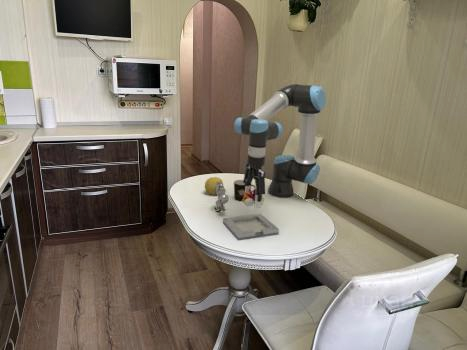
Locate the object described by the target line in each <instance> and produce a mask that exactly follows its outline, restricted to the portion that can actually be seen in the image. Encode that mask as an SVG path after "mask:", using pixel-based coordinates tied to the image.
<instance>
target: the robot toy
mask: <svg viewBox="0 0 467 350" xmlns="http://www.w3.org/2000/svg"><path fill="white" fill-rule="evenodd" d="M215 189H216V195H215V196H217V200H216V201H215V206H216V207H215V208H216V209H217V211H219V210H220V211H221V210H222V212H221V213H226V212H227V208H226V207H225V204H227V203H228V202H229V195H227V194H226V188H225V186H224V184H223V185H222V184H220V183H219V182H216V184H215ZM225 211H226V212H225Z"/></svg>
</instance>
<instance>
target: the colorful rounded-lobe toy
mask: <svg viewBox="0 0 467 350" xmlns="http://www.w3.org/2000/svg"><path fill="white" fill-rule="evenodd" d="M253 190H254V191H253ZM253 190H252V189H251V190H250V189H249V193H250V194H248V193H244V194H243V195H244V198H243V199H242V201H241V202H242V203H244V205H245V206H247V207H252V206H253V205H255V196H256V193H257V191H256V189H255V188H254V189H253ZM252 191H253V192H252ZM264 200H265V198H263V197H262V200H261V207H262V206H263V205H264V204H263V203H264Z"/></svg>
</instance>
